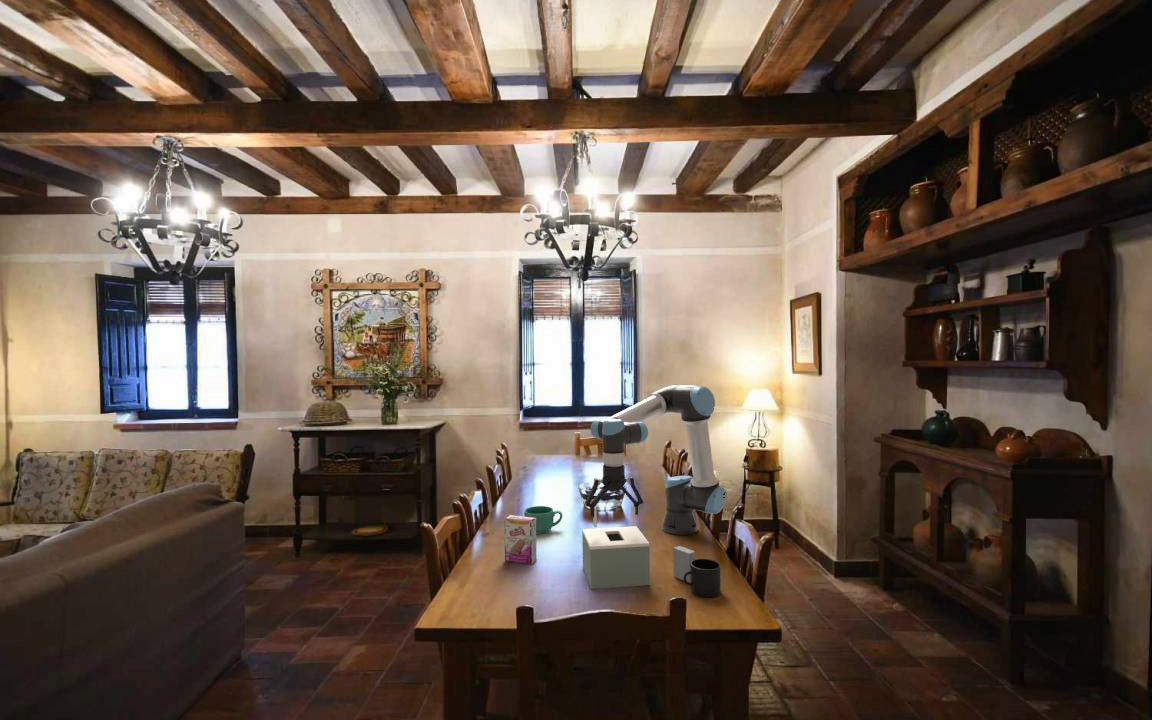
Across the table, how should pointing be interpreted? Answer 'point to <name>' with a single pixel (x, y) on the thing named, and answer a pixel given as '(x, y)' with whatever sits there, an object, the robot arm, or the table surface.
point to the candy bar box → (520, 539)
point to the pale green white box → (615, 557)
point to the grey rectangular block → (682, 562)
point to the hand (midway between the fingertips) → (614, 525)
